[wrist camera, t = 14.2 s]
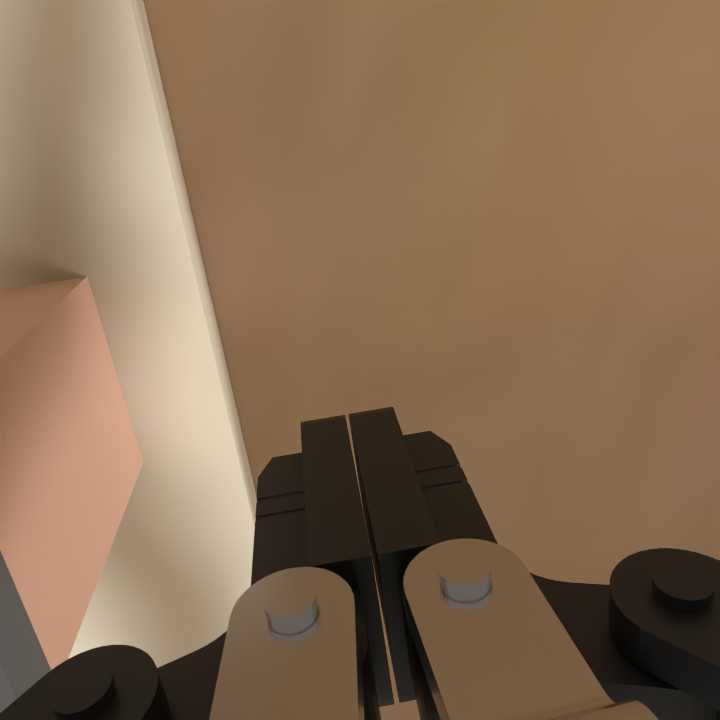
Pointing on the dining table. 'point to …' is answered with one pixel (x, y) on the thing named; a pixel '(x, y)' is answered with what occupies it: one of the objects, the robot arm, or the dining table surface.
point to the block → (55, 472)
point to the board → (129, 308)
